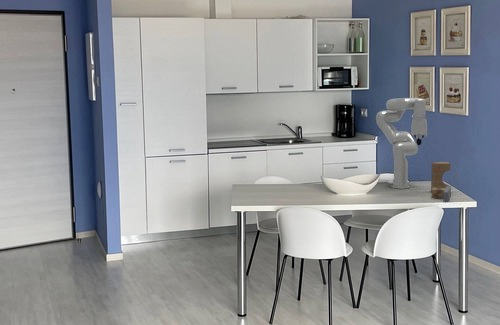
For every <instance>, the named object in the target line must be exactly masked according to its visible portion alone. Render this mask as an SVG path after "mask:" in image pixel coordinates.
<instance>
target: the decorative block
mask: <svg viewBox="0 0 500 325" xmlns="http://www.w3.org/2000/svg"><path fill="white" fill-rule="evenodd" d="M448 171H451V163H450V162H448V161H438V162H432V163H431V177H430V178H431V180H430V182H431V184H430V187H431V189H430V192H431V193H432V188H433V187H434V188H446V187H447V186H450V185H449V184H447V183H444V181H443V175H444V174H445V173H446V172H448Z"/></svg>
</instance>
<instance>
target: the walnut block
mask: <svg viewBox="0 0 500 325" xmlns="http://www.w3.org/2000/svg"><path fill="white" fill-rule="evenodd" d="M444 190H445V188H434V187H433V188H432V192H431V199H432V198H433V199H432V200H434V199H435V200H443V195H444Z"/></svg>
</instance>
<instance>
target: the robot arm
mask: <svg viewBox="0 0 500 325" xmlns="http://www.w3.org/2000/svg"><path fill="white" fill-rule="evenodd" d="M426 101H427V100H426V99H425V98H420V97H400V98H399V97H397V98H391V99H389V100H387V101H386V103H385V108H386V109H387V110H380V111H378V112H377V113H376V116H375V121H376V125H377V126H378V128H379V129H380V130H381V132H383V134H384V135H385V138H386V139H387V140H388V142H389V143H390V145H392V154H393V180H387V181H386V182H387V184H388V185H390V187H391V188H393V189H397V190H398V189H399V190H402V189H409V188H410V187H411V186H410V185H409V182H408V179H409V178H408V177H409V176H408V175H409V174H408V172H409V169H408V168H409V162H408V159H407V158H406V156H413V155H416V154H418V152H419V148H418V146H421V145H422V139H423V138H426V137H428V120H427V119H426V112H427V111H426V110H427V109H426V105H427V104H426V103H427V102H426ZM406 110H413V114H412V115H411V118H412V121H411V129H410V132H408V131H405V130H402V131H401V130H400V131H399V130H397V129H396V127H395V126H394V125H393V124H391V123H397V122H399V121H400V120H401V119H402V117H403V115H404V113H405V111H406ZM413 137H414V138H415V139H416V141H415V139H414V138H413Z"/></svg>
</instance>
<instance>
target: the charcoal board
mask: <svg viewBox="0 0 500 325" xmlns="http://www.w3.org/2000/svg"><path fill="white" fill-rule="evenodd" d="M451 191H452V186H451V185H449V186H447V187H446V188H445V190H444V195H443V199H442V200H443V202H444V203H448V202H449V200H448V199H450V197H451V195H452V194H451V193H452V192H451Z"/></svg>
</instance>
